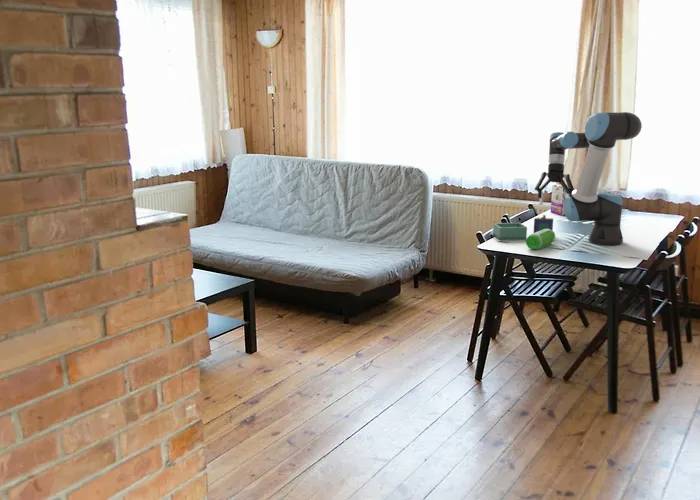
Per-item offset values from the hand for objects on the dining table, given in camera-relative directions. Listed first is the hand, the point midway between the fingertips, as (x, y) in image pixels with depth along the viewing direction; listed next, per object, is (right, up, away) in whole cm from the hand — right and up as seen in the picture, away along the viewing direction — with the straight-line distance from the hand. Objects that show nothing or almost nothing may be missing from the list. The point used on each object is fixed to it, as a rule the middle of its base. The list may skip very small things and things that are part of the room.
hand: (553, 205), depth 329 cm
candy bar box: (+19, -1, +50) cm, 53 cm away
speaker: (-14, -21, -24) cm, 35 cm away
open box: (-24, -16, -5) cm, 29 cm away
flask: (-7, -16, -4) cm, 17 cm away
